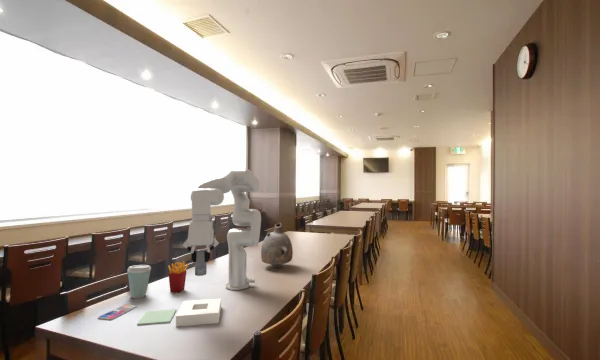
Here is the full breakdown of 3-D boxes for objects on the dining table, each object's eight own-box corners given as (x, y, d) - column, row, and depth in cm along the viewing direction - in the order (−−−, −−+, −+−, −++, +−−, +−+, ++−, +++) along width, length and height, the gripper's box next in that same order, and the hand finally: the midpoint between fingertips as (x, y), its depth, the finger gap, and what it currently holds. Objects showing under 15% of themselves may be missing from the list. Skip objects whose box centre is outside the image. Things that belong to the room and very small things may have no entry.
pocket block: (221, 307, 135) (221, 298, 135) (218, 322, 119) (218, 312, 119) (183, 310, 132) (183, 300, 132) (175, 326, 116) (175, 316, 116)
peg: (207, 272, 129) (207, 249, 129) (205, 275, 124) (206, 251, 125) (195, 273, 128) (196, 249, 128) (194, 276, 123) (194, 251, 124)
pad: (176, 310, 131) (176, 309, 131) (169, 322, 119) (169, 321, 119) (146, 312, 129) (146, 311, 129) (137, 325, 117) (137, 323, 117)
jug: (252, 268, 202) (253, 223, 203) (273, 261, 220) (273, 220, 221) (281, 273, 188) (281, 225, 189) (300, 266, 206) (300, 222, 207)
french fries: (179, 293, 152) (179, 264, 153) (164, 292, 154) (165, 263, 155) (189, 288, 161) (189, 260, 162) (175, 287, 163) (175, 259, 163)
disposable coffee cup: (134, 292, 155) (135, 262, 155) (155, 292, 155) (155, 263, 155) (121, 299, 144) (122, 268, 145) (143, 299, 144) (144, 268, 144)
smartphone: (138, 305, 136) (111, 319, 121) (138, 307, 136) (111, 321, 121) (125, 303, 138) (96, 317, 123) (125, 305, 138) (96, 319, 123)
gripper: (222, 217, 132) (222, 258, 132) (181, 217, 129) (181, 260, 128) (221, 218, 125) (221, 263, 124) (178, 219, 121) (177, 265, 121)
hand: (200, 261), depth 126 cm, fingers closed on peg, 4 cm apart
